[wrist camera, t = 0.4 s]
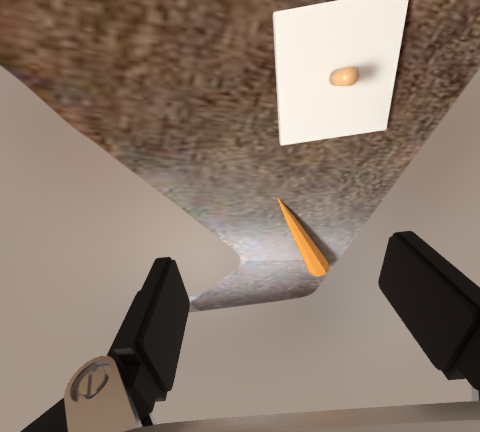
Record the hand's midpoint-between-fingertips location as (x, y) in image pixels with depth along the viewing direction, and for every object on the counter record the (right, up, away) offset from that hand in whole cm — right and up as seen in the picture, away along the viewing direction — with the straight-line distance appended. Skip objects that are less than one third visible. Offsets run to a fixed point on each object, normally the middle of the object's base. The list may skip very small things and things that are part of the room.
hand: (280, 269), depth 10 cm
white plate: (+11, +22, +22) cm, 33 cm away
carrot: (+11, -1, +36) cm, 37 cm away
